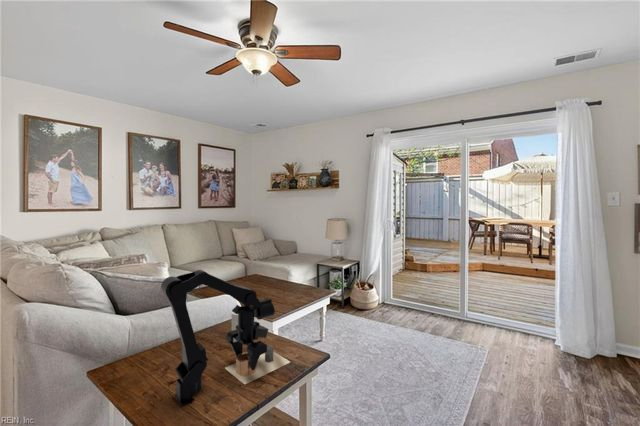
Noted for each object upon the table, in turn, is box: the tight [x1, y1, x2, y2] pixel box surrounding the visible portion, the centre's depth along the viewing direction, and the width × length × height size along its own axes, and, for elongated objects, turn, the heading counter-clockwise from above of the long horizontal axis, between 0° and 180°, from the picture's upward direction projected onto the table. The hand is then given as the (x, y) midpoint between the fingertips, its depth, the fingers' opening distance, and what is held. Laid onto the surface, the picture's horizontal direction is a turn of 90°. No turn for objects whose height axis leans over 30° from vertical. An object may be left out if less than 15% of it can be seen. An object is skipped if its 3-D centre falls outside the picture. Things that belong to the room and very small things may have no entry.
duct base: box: [224, 344, 291, 385], centre depth 112 cm, size 20×14×6 cm
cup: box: [231, 310, 238, 331], centre depth 137 cm, size 8×8×12 cm
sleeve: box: [235, 351, 257, 376], centre depth 108 cm, size 7×7×5 cm
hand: (246, 364), depth 108 cm, fingers open, 9 cm apart
